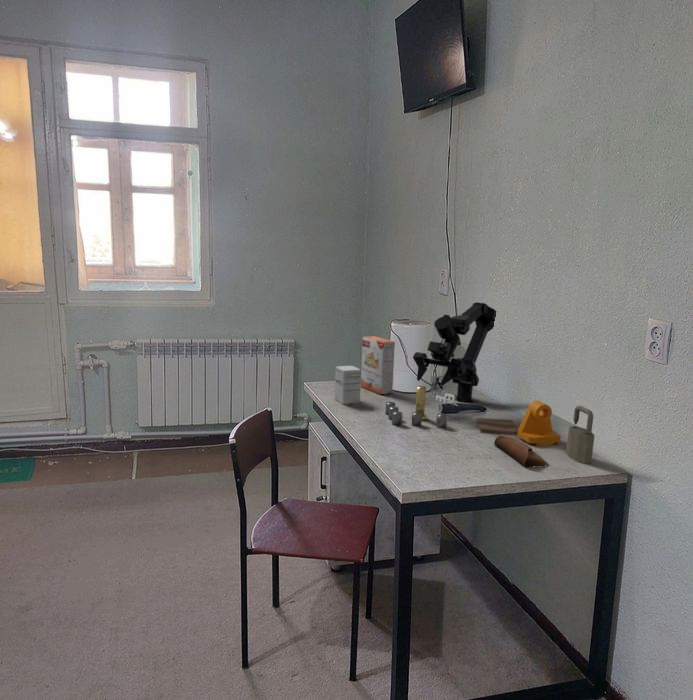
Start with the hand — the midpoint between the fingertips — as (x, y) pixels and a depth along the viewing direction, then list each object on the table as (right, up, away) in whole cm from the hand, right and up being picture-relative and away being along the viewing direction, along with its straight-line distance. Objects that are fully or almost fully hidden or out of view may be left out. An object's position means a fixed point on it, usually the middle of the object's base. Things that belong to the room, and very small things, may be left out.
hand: (429, 382), depth 202 cm
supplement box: (-28, -8, +16) cm, 33 cm away
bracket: (+31, -17, -20) cm, 41 cm away
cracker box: (-17, -5, +33) cm, 37 cm away
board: (+21, -14, -9) cm, 27 cm away
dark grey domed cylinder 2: (-13, -12, -4) cm, 18 cm away
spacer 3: (-12, -13, -9) cm, 20 cm away
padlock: (+38, -20, -34) cm, 54 cm away
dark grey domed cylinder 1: (-13, -11, +2) cm, 17 cm away
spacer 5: (+3, -14, -10) cm, 17 cm away
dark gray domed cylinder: (-6, -13, -9) cm, 17 cm away
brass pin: (-4, -12, -2) cm, 13 cm away
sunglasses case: (+22, -20, -33) cm, 44 cm away
